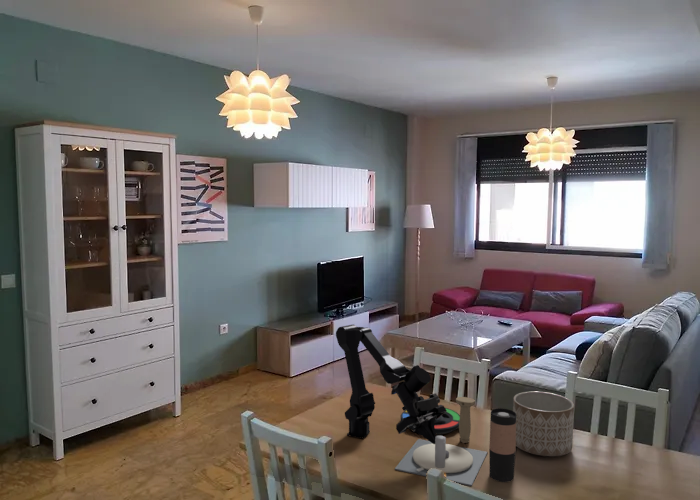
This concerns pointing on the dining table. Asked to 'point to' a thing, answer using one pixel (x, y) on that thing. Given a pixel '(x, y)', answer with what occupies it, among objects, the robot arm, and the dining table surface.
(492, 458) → the travel mug
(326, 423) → the dining table surface
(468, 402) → the handle
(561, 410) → the planter
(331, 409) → the dining table surface
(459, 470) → the dial
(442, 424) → the electronic game
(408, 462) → the board
